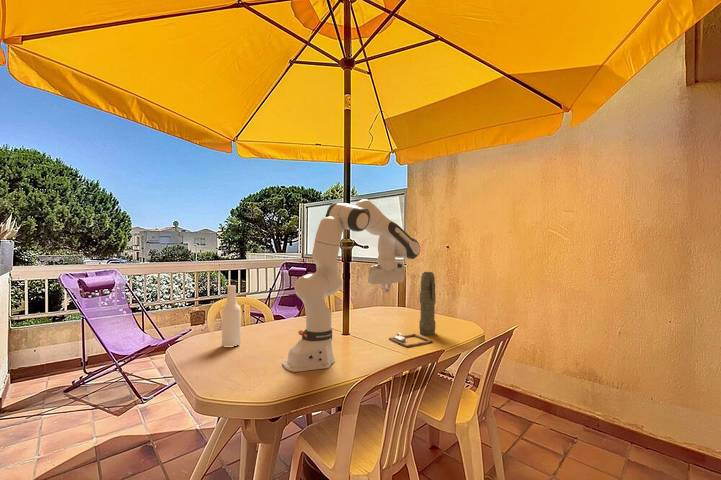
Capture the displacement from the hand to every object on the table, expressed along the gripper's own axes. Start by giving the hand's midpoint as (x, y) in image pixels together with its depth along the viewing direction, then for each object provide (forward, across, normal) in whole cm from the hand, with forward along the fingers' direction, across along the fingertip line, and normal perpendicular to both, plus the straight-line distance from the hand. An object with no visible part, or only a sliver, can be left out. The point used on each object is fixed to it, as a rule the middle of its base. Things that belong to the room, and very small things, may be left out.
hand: (386, 292), depth 173 cm
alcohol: (+27, -67, +38) cm, 82 cm away
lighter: (+26, +13, +1) cm, 29 cm away
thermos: (+27, +34, +7) cm, 44 cm away
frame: (+27, +16, 0) cm, 31 cm away
